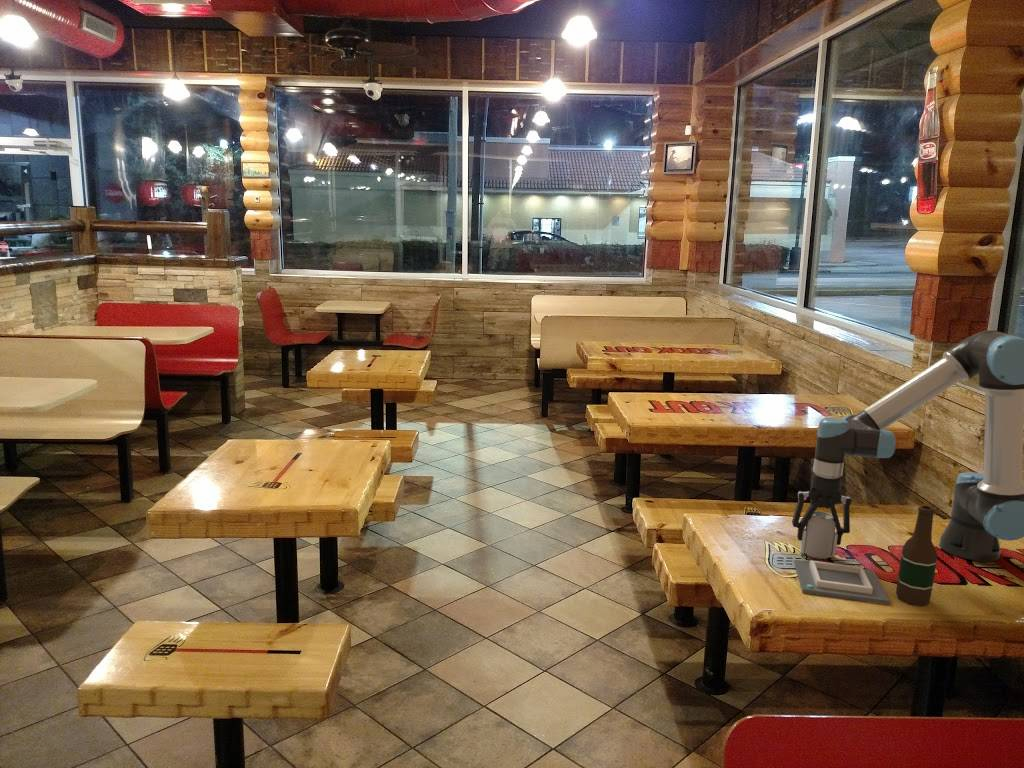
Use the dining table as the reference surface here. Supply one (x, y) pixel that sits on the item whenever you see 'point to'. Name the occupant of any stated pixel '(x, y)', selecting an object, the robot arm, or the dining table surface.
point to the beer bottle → (918, 562)
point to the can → (820, 535)
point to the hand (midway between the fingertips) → (817, 552)
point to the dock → (840, 581)
